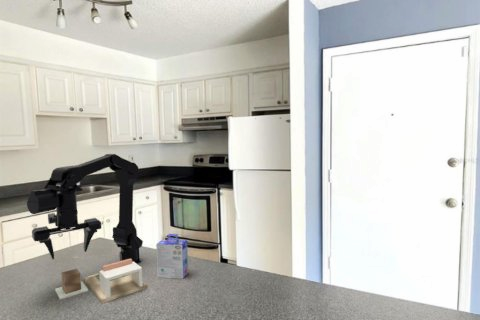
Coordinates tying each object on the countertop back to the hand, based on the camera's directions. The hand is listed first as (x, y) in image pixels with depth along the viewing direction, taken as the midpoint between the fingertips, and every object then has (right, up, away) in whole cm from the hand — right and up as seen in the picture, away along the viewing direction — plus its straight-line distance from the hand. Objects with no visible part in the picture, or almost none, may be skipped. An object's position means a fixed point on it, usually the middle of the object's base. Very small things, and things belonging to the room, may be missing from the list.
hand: (69, 255), depth 98 cm
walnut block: (0, -11, +1) cm, 11 cm away
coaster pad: (0, -12, +1) cm, 12 cm away
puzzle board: (+13, -11, +5) cm, 18 cm away
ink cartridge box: (+31, -11, +11) cm, 35 cm away
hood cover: (+17, -10, 0) cm, 20 cm away
